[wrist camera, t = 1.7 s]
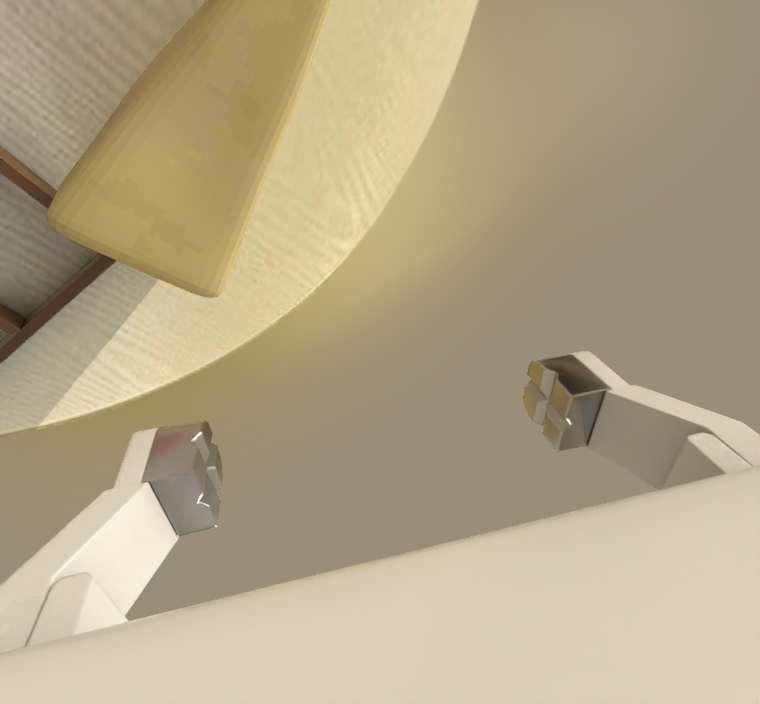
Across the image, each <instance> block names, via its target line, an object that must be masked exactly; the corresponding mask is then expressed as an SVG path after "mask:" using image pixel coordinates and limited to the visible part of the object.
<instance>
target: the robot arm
mask: <svg viewBox="0 0 760 704" xmlns="http://www.w3.org/2000/svg"><path fill="white" fill-rule="evenodd" d="M528 376H529V377H530V379H531V381H530V382H529V383H528V385H527V386H526V387H525V390H524V396H523V399H524V404H525V408H526V411H527V413H528V415H529V416H530V417H531V419H532V420H533V421H534V422H536V423H538V424H540V425H542V426H543V435H544V436H545V437H546V438H547V440H548V441H549V442H550V443H551V445H552V446H553V447H554V449H555V450H556V451H557V452H558V451H563V450H569V449H574V448H578V447H584V446H588V448H589V449H591V450H593V451H594V452H596V453H598V454H599V455H601V456H603V457H604V458H606V459H608V460H609V461H611V462H613V463H614V464H616V465H618V466H619V467H621V468H623V469H625V470H626V471H628V472H630V473H631V474H633V475H635V476H636V477H638V478H640V479H641V480H643V481H645V482H646V483H648V484H650V485H652V486H653V487H655V488H657V489H658V491H653V492H649V493H645V494H641V495H637V496H633V497H629V498H626V499H621V500H617V501H613V502H609V503H605V504H601V505H597V506H593V507H589V508H585V509H581V510H577V511H573V512H569V513H565V514H560V515H557V516H552V517H548V518H544V519H541V520H537V521H533V522H528V523H524V524H520V525H516V526H512V527H508V528H505V529H500V530H496V531H492V532H488V533H484V534H480V535H476V536H472V537H468V538H464V539H460V540H456V541H452V542H447V543H443V544H440V545H436V546H431V547H427V548H423V549H419V550H415V551H411V552H407V553H403V554H399V555H395V556H391V557H387V558H383V559H379V560H375V561H370V562H366V563H362V564H358V565H354V566H351V567H346V568H342V569H338V570H334V571H330V572H326V573H322V574H318V575H314V576H310V577H306V578H302V579H298V580H294V581H290V582H286V583H282V584H278V585H273V586H269V587H266V588H262V589H258V590H253V591H249V592H246V593H242V594H237V595H233V596H229V597H225V598H221V599H217V600H213V601H209V602H205V603H201V604H197V605H193V606H189V607H185V608H181V609H177V610H172V611H169V612H165V613H160V614H156V615H152V616H149V617H144V618H140V619H137V620H133V621H128V620H127V619H126V617H125V615H126V614H127V612H128V611H129V609H130V608H131V606H132V605H133V603H134V602H135V601H136V599H137V598H138V596H139V595H140V593H141V592H142V590H143V589H144V587H145V586H146V585H147V583H148V582H149V580H150V579H151V577H152V576H153V574H154V573H155V572H156V570H157V569H158V567H159V566H160V564H161V563H162V561H163V560H164V558H165V557H166V556H167V554H168V553H169V551H170V550H171V548H172V547H173V546H174V544H175V543H176V541H177V540H178V536H182V535H185V534H190V533H194V532H198V531H202V530H205V529H210V528H214V527H218V519H219V510H220V499H219V497H218V494H217V491H218V490H219V489H220V487H221V486H222V479H223V471H222V461H221V457H220V453H219V450H218V447H217V446H216V445H214V444H212V443H211V438H212V431H211V429H210V426H209V424H208V422H207V421H205V420H204V421H197V422H192V423H185V424H179V425H172V426H166V427H160V428H156V429H149V430H143V431H137V432H136V433H134V434H133V435H132V437H131V439H130V442H129V445H128V447H127V450H126V453H125V456H124V458H123V461H122V464H121V467H120V469H119V472H118V475H117V478H116V480H115V483H114V486H113V489H110V490H105V491H104V492H103V493H102V494H101V495H100V496H98V497H97V498H96V499H95V500H94V501H93V502H92V503H91V504H90V505H89V506H87V507H86V508H85V509H84V510H83V511H82V512H81V513H80V514H79V515H77V517H75V518H74V519H73V520H72V521H71V522H70V523H69V524H68V525H66V526H65V527H64V528H63V529H62V530H61V531H60V532H59V533H58V534H57V535H55V536H54V537H53V538H52V539H51V540H50V541H49V542H48V543H47V544H45V545H44V546H43V547H42V548H41V549H40V550H39V551H38V552H37V553H36V554H34V555H33V557H31V558H30V559H29V560H28V561H27V562H26V563H25V564H23V565H22V566H21V567H20V568H19V569H18V570H17V571H16V572H15V573H14V574H12V575H11V576H10V577H9V578H8V579H7V580H6V581H5V582H3V583H2V584H1V585H0V704H760V435H759V434H757V433H756V432H755V431H753V430H752V429H751V428H749V427H748V426H747V425H745V424H744V423H742V422H740V421H737V420H734V419H731V418H729V417H725V416H723V415H720V414H717V413H714V412H711V411H708V410H706V409H703V408H700V407H697V406H694V405H691V404H688V403H686V402H683V401H680V400H677V399H674V398H671V397H668V396H665V395H663V394H660V393H657V392H654V391H651V390H648V389H645V388H642V387H640V386H637V385H633V386H630V385H628V384H627V383H626V382H625V381H624V380H622V379H621V378H620V377H619V376H618V375H617V374H615V373H614V372H613V371H612V370H611V369H610V368H608V367H607V366H606V365H605V364H604V363H602V362H601V361H600V360H599V359H598V358H597V357H595V356H594V355H593V354H592V353H590V352H588V351H581V352H576V353H571V354H567V355H563V356H559V357H553V358H548V359H542V360H537V361H532V363H531V364H530V365H529V369H528Z"/></svg>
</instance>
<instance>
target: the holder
mask: <svg viewBox="0 0 760 704" xmlns="http://www.w3.org/2000/svg"><path fill="white" fill-rule="evenodd" d="M0 173H2V174H3V175H4V176H6V177H7V178H8V179H9V180H11V181H12V182H13V183H15V184H16V185H17V186H19V187H20V188H21V189H23V190H24V191H25V192H27V193H28V194H29V195H31V196H32V197H33V198H35V199H36V200H37V201H39V202H40V203H41V204H42V205H44V206H45V207H46V208H48V209H49V207H50V205H51V203H52V201H53V199H54V197H55V195H56V193H57V191H56V190H55V189H54V188H52V187H51V186H50V185H49V184H47V183H46V182H45V181H44V180H42V179H41V178H40V177H39V176H37V175H36V174H35V173H33V172H32V171H31V170H30V169H28V168H27V167H26V166H25V165H23V164H22V163H21V162H20V161H18V160H17V159H16V158H15V157H13V156H12V155H11V154H10V153H8V152H7V151H6V150H5V149H3V148H2V147H1V146H0ZM116 261H117V260H115V259H112V258H110V257H108V256H106V255H103V254H101V253H99V254H98V255H97V256H95V257H94V258H93V259H92V260H91V261H90V262H89V263H88V264H87V265H85V266H84V267H83V268H82V269H81V270H80V271H79V272H78V273H76V274H75V275H74V276H73V277H72V278H71V279H70V280H69V281H67V282H66V283H65V284H64V285H63V286H62V287H61V288H60V289H58V290H57V291H56V292H55V293H54V294H53V295H52V296H51V297H50V298H48V299H47V300H46V301H45V302H44V303H43V304H42V305H41V306H39V307H38V308H37V309H36V310H35V311H34V312H33V313H32V314H30V315H29V316H28V317H27V318H25V317H23V316H21V315H19V314H18V313H16V312H14V311H12V310H11V309H9V308H7V307H5V306H4V305H2V304H0V329H1V330H3V331H5V332H6V333H8V335H7V336H6V337H5V338H4V339H2V340H1V341H0V364H1V363H2V362H3V361H4V360H6V359H7V358H8V357H9V356H10V355H11V354H12V353H13V352H15V351H16V350H17V349H18V348H19V347H20V346H21V345H22V344H24V343H25V342H26V341H27V340H28V339H29V338H30V337H31V336H33V335H34V334H35V333H36V332H37V331H38V330H39V329H40V328H42V327H43V326H44V325H45V324H46V323H47V322H48V321H49V320H51V319H52V318H53V317H54V316H55V315H56V314H57V313H58V312H60V311H61V310H62V309H63V308H64V307H65V306H66V305H67V304H69V303H70V302H71V301H72V300H73V299H74V298H75V297H76V296H78V295H79V294H80V293H81V292H82V291H83V290H84V289H85V288H87V287H88V286H89V285H90V284H91V283H92V282H93V281H94V280H96V279H97V278H98V277H99V276H100V275H101V274H102V273H103V272H105V271H106V270H107V269H108V268H109V267H110V266H111V265H112V264H114V263H115V262H116Z"/></svg>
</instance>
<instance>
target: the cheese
mask: <svg viewBox="0 0 760 704" xmlns="http://www.w3.org/2000/svg"><path fill="white" fill-rule="evenodd" d="M331 2H332V0H207V1H206V2H205V4H204V5H203V6H202V7H201V8H200V9H199V10H198V11H197V12H196V14H195V15H194V16H193V17H192V18H191V19H190V20H189V21H188V22H187V23H186V25H185V26H184V27H183V28H182V29H181V30H180V31H179V32H178V33H177V35H176V36H175V37H174V38H173V39H172V40H171V41H170V42H169V43H168V45H167V46H166V47H165V48H164V49H163V50H162V51H161V52H160V54H159V55H158V56H157V57H156V58H155V59H154V61H153V62H152V63H151V64H150V65H149V66H148V68H147V69H146V70H145V71H144V73H143V74H142V75H141V76H140V78H139V79H138V80H137V81H136V83H135V84H134V85H133V87H132V88H131V89H130V91H129V92H128V94H127V95H126V96H125V98H124V99H123V101H122V102H121V103H120V105H119V106H118V108H117V109H116V110H115V112H114V113H113V115H112V116H111V117H110V119H109V120H108V122H107V123H106V124H105V126H104V127H103V129H102V130H101V131H100V133H99V134H98V135H97V137H96V138H95V139H94V141H93V142H92V144H91V145H90V146H89V148H88V149H87V150H86V152H85V153H84V154H83V156H82V157H81V158H80V160H79V161H78V162H77V164H76V165H75V166H74V168H73V169H72V170H71V172H70V173H69V174H68V176H67V177H66V178H65V180H64V181H63V183H62V184H61V186H60V188H59V189H58V191H57V193H56V195H55V197H54V199H53V201H52V203H51V205H50V207H49V209H48V211H47V219H48V221H49V223H50V224H51V226H52V227H53V228H54V229H56V230H57V231H58V232H60V233H61V234H62V235H64V236H66V237H68V238H70V239H71V240H73V241H75V242H77V243H79V244H81V245H83V246H86V247H88V248H90V249H92V250H94V251H96V252H99V253H101V254H103V255H106V256H108V257H110V258H112V259H115V260H117V261H119V262H121V263H124V264H126V265H128V266H131V267H133V268H135V269H138V270H140V271H142V272H144V273H147V274H149V275H151V276H154V277H156V278H158V279H160V280H163V281H165V282H167V283H170V284H172V285H174V286H176V287H179V288H181V289H184V290H186V291H189V292H191V293H194V294H197V295H200V296H203V297H208V298H213V297H218V296H219V295H220V294H221V293H222V292H223V290H224V288H225V286H226V283H227V281H228V278H229V275H230V272H231V270H232V267H233V264H234V262H235V259H236V256H237V254H238V251H239V248H240V245H241V243H242V240H243V237H244V235H245V232H246V229H247V227H248V224H249V221H250V219H251V216H252V214H253V211H254V208H255V206H256V203H257V201H258V198H259V195H260V193H261V190H262V188H263V185H264V183H265V180H266V177H267V175H268V172H269V170H270V167H271V165H272V162H273V160H274V157H275V155H276V152H277V150H278V147H279V145H280V142H281V140H282V137H283V135H284V132H285V130H286V127H287V125H288V122H289V120H290V117H291V115H292V112H293V110H294V107H295V104H296V102H297V99H298V97H299V94H300V91H301V89H302V86H303V83H304V80H305V78H306V75H307V72H308V69H309V66H310V63H311V60H312V58H313V55H314V52H315V49H316V46H317V43H318V40H319V37H320V34H321V31H322V28H323V26H324V23H325V20H326V17H327V14H328V11H329V8H330V5H331Z"/></svg>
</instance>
